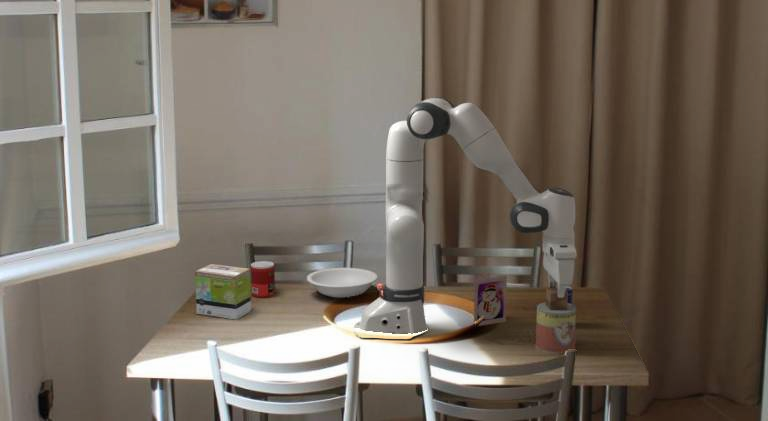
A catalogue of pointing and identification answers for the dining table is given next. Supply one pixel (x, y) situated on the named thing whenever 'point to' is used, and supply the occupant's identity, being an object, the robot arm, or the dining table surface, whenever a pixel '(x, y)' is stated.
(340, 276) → the soup bowl
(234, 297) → the tea box
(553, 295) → the walnut block
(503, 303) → the greeting card
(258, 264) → the canned food
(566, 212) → the robot arm
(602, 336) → the dining table surface
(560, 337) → the canned food
